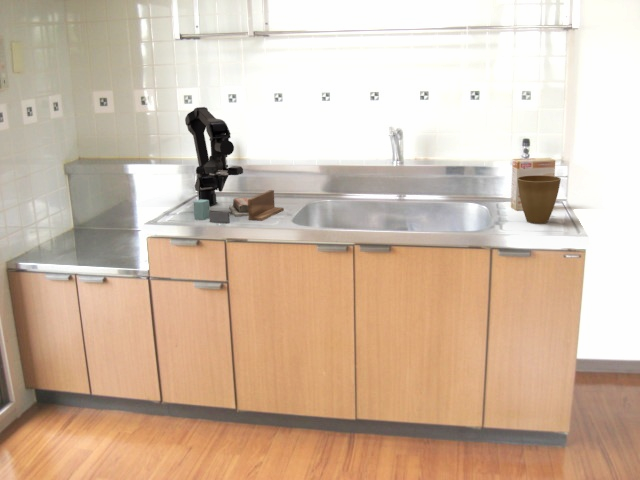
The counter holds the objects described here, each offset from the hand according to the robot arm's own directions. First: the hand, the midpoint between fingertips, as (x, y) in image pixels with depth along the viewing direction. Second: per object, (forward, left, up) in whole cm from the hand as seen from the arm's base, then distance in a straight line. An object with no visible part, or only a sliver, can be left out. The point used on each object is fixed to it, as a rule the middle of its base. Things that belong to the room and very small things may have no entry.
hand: (220, 191), depth 287 cm
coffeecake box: (+118, +38, -9) cm, 124 cm away
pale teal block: (-1, -13, -8) cm, 16 cm away
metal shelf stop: (+9, -17, -8) cm, 21 cm away
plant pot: (+122, +15, -9) cm, 123 cm away
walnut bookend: (+21, -1, -8) cm, 22 cm away
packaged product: (+9, +3, -9) cm, 13 cm away
